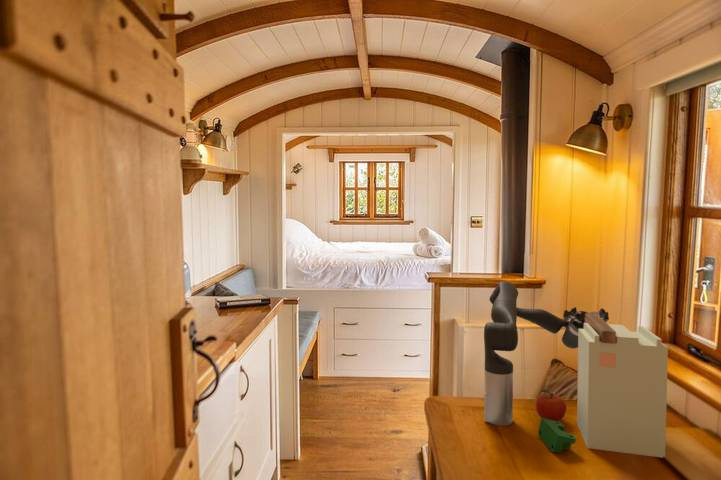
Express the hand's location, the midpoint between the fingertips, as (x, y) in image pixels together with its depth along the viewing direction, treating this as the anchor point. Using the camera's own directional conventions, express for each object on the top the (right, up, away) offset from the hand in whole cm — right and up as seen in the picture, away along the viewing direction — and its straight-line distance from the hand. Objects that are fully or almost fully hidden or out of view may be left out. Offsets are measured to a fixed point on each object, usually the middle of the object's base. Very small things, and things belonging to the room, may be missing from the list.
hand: (589, 310), depth 151 cm
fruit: (-15, -37, -3) cm, 40 cm away
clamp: (-20, -38, -20) cm, 47 cm away
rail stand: (0, -37, -17) cm, 41 cm away
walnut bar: (-4, -5, -14) cm, 16 cm away
